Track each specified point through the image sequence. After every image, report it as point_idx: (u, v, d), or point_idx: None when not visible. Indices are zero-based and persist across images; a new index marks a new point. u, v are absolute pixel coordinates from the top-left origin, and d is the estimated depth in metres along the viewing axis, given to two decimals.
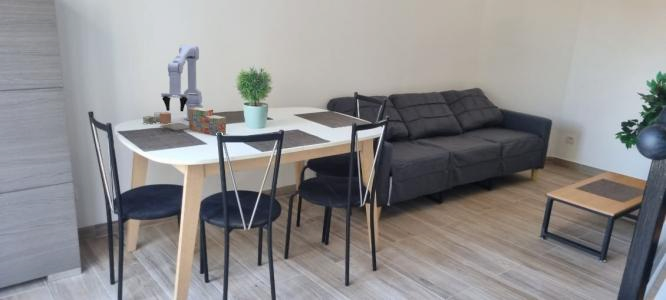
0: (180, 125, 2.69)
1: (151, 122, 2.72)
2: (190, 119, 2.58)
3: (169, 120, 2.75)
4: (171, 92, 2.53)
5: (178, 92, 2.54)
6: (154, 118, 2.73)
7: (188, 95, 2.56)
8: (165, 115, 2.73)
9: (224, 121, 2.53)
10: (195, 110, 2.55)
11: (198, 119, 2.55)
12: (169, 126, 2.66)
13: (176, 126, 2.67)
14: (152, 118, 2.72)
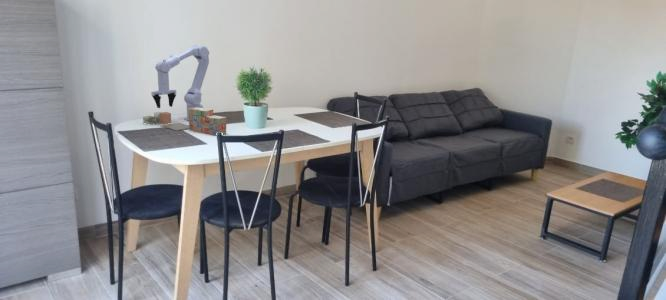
0: (180, 125, 2.69)
1: (151, 122, 2.72)
2: (190, 119, 2.58)
3: (169, 120, 2.75)
4: None
5: None
6: (154, 118, 2.73)
7: (152, 93, 2.66)
8: (165, 115, 2.73)
9: (224, 121, 2.52)
10: (195, 110, 2.55)
11: (198, 119, 2.55)
12: (169, 126, 2.66)
13: (176, 126, 2.67)
14: (152, 118, 2.72)
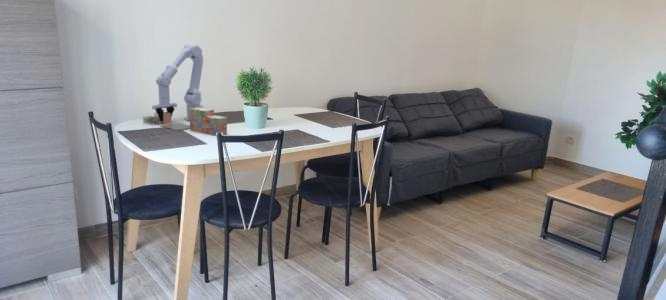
0: (180, 125, 2.69)
1: (151, 122, 2.72)
2: (191, 119, 2.58)
3: (169, 120, 2.75)
4: None
5: (159, 103, 2.73)
6: (154, 118, 2.73)
7: (153, 107, 2.68)
8: (165, 115, 2.73)
9: (225, 121, 2.52)
10: (196, 110, 2.55)
11: (199, 119, 2.55)
12: (169, 126, 2.66)
13: (176, 126, 2.67)
14: (152, 118, 2.72)
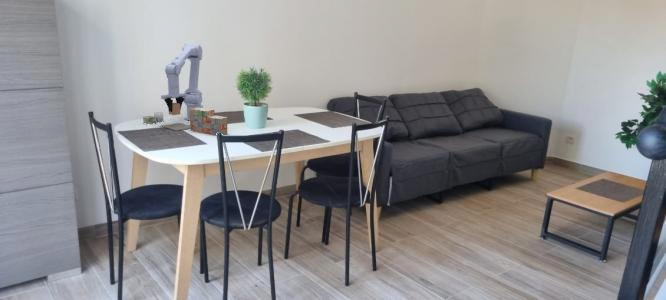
0: (180, 125, 2.69)
1: (151, 122, 2.72)
2: (191, 119, 2.58)
3: (178, 111, 2.66)
4: None
5: None
6: (154, 118, 2.73)
7: (162, 96, 2.59)
8: (174, 105, 2.64)
9: (226, 121, 2.52)
10: (196, 110, 2.54)
11: (199, 119, 2.54)
12: (169, 126, 2.66)
13: (176, 126, 2.67)
14: (152, 118, 2.72)
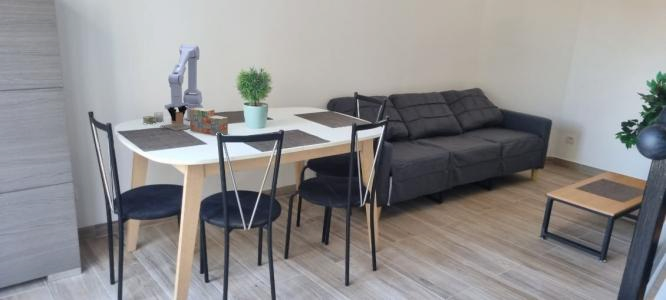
0: (180, 125, 2.69)
1: (151, 122, 2.72)
2: (191, 119, 2.57)
3: (181, 120, 2.66)
4: None
5: (171, 102, 2.62)
6: (154, 118, 2.73)
7: (166, 106, 2.58)
8: (177, 115, 2.63)
9: (226, 121, 2.52)
10: (196, 110, 2.54)
11: (199, 119, 2.54)
12: (169, 126, 2.66)
13: (176, 126, 2.67)
14: (152, 118, 2.72)
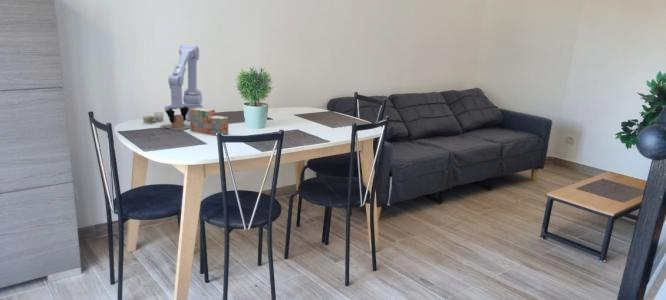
0: None
1: (151, 122, 2.72)
2: (191, 120, 2.57)
3: (181, 123, 2.66)
4: None
5: None
6: (154, 118, 2.73)
7: (166, 107, 2.58)
8: (177, 118, 2.64)
9: (226, 121, 2.52)
10: (197, 110, 2.54)
11: (200, 119, 2.54)
12: (169, 126, 2.66)
13: None
14: (152, 118, 2.72)
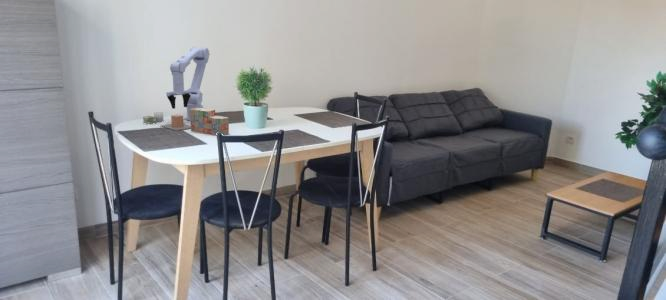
0: None
1: (151, 122, 2.72)
2: (192, 120, 2.57)
3: (181, 123, 2.66)
4: None
5: (173, 90, 2.70)
6: (154, 118, 2.73)
7: (167, 93, 2.66)
8: (177, 118, 2.64)
9: (227, 121, 2.52)
10: (197, 111, 2.54)
11: (200, 119, 2.54)
12: (169, 126, 2.66)
13: None
14: (152, 118, 2.72)
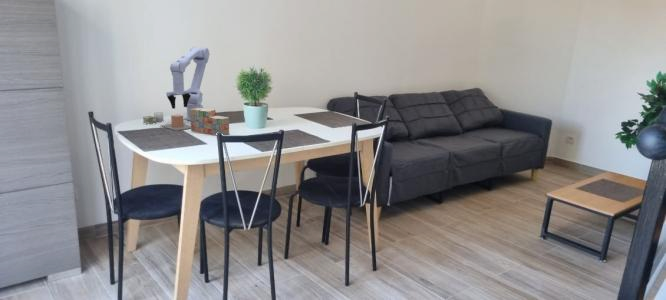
0: None
1: (151, 122, 2.72)
2: (192, 120, 2.57)
3: (181, 123, 2.66)
4: None
5: (173, 90, 2.70)
6: (154, 118, 2.73)
7: (167, 93, 2.66)
8: (177, 118, 2.64)
9: (227, 121, 2.52)
10: (197, 111, 2.54)
11: (200, 119, 2.54)
12: (169, 126, 2.66)
13: None
14: (152, 118, 2.72)
